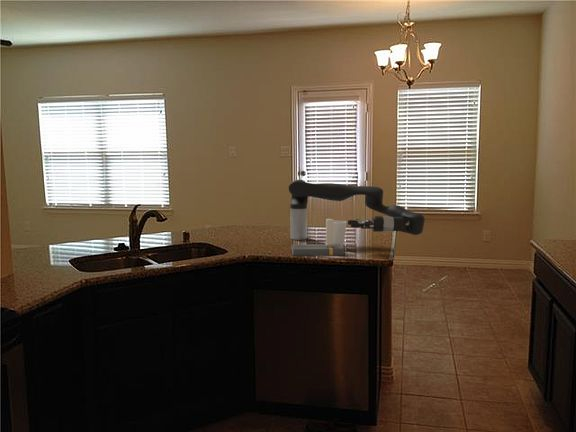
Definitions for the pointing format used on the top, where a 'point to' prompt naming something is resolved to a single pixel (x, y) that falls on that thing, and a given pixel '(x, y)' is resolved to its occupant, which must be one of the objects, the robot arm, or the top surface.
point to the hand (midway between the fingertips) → (349, 223)
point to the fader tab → (329, 233)
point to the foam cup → (339, 231)
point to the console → (316, 249)
